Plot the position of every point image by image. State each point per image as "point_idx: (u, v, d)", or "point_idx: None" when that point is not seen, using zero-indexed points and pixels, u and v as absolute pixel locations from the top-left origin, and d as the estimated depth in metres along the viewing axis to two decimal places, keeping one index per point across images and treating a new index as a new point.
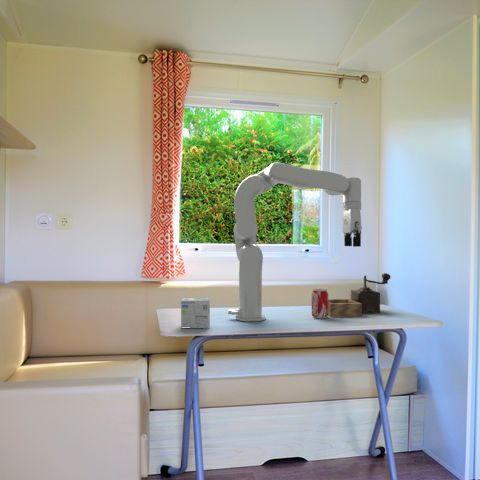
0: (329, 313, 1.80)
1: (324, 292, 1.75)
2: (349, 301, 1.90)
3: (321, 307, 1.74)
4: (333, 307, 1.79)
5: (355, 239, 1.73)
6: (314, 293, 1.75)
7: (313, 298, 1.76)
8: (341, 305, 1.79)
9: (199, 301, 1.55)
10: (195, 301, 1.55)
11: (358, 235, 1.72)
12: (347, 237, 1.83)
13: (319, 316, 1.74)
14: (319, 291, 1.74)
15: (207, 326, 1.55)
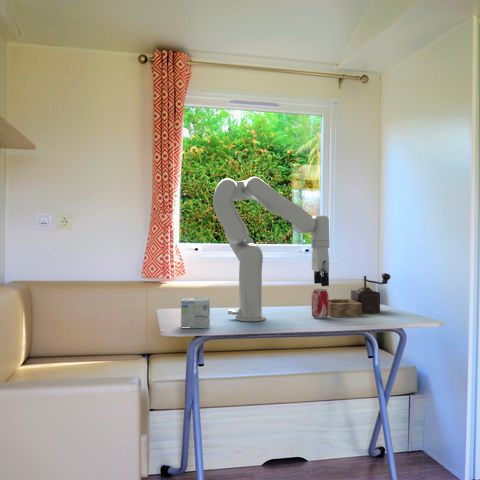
0: (329, 313, 1.80)
1: (324, 292, 1.75)
2: (349, 301, 1.90)
3: (321, 307, 1.74)
4: (333, 307, 1.79)
5: (323, 279, 1.72)
6: (314, 293, 1.75)
7: (313, 298, 1.76)
8: (341, 305, 1.79)
9: (199, 301, 1.55)
10: (195, 301, 1.55)
11: (326, 275, 1.71)
12: (317, 274, 1.82)
13: (319, 316, 1.74)
14: (319, 291, 1.74)
15: (207, 326, 1.55)
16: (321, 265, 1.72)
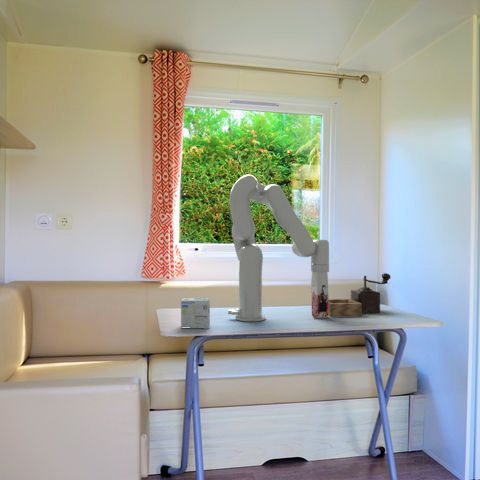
0: (329, 313, 1.80)
1: None
2: (349, 301, 1.90)
3: None
4: (333, 307, 1.79)
5: (321, 304, 1.73)
6: (314, 293, 1.75)
7: (313, 298, 1.76)
8: (341, 305, 1.79)
9: (199, 301, 1.55)
10: (195, 301, 1.55)
11: (324, 301, 1.72)
12: None
13: (319, 316, 1.74)
14: None
15: (207, 326, 1.55)
16: (320, 289, 1.72)
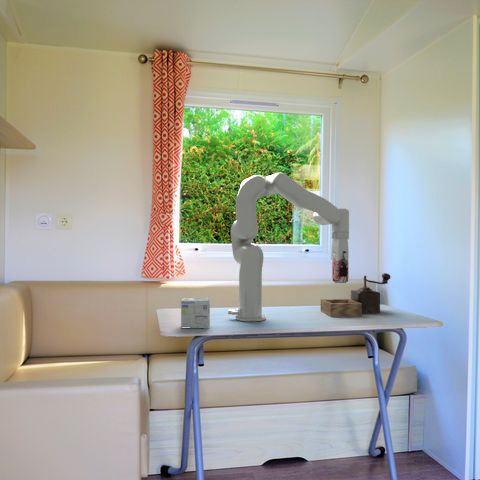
0: (329, 313, 1.80)
1: None
2: (349, 301, 1.90)
3: None
4: (333, 307, 1.79)
5: (342, 270, 1.82)
6: (335, 259, 1.85)
7: (334, 264, 1.85)
8: (341, 305, 1.79)
9: (199, 301, 1.55)
10: (195, 301, 1.55)
11: (344, 266, 1.81)
12: None
13: (340, 281, 1.83)
14: None
15: (207, 326, 1.55)
16: (341, 255, 1.81)
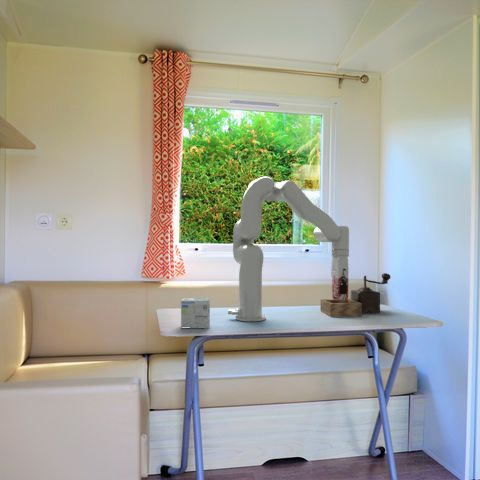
0: (329, 313, 1.80)
1: None
2: (349, 301, 1.90)
3: None
4: (333, 307, 1.79)
5: (341, 287, 1.82)
6: None
7: (334, 281, 1.85)
8: (341, 305, 1.79)
9: (199, 301, 1.55)
10: (195, 301, 1.55)
11: (344, 284, 1.81)
12: None
13: (340, 298, 1.83)
14: None
15: (207, 326, 1.55)
16: (341, 273, 1.81)
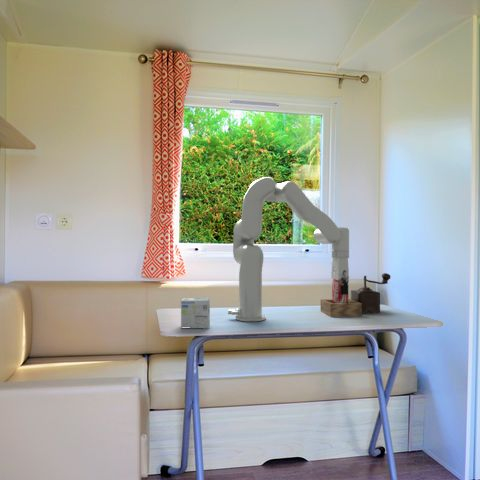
0: (329, 313, 1.80)
1: None
2: (349, 301, 1.90)
3: (342, 295, 1.83)
4: (333, 307, 1.79)
5: (343, 287, 1.81)
6: (335, 281, 1.84)
7: (334, 286, 1.85)
8: (341, 305, 1.79)
9: (199, 301, 1.55)
10: (195, 301, 1.55)
11: (345, 284, 1.80)
12: None
13: None
14: None
15: (207, 326, 1.55)
16: (341, 274, 1.81)
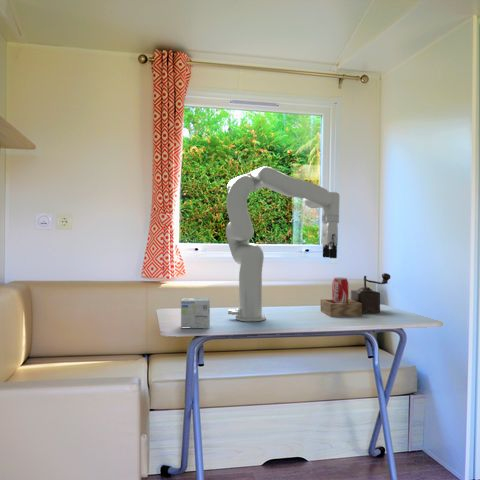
0: (329, 313, 1.80)
1: (344, 280, 1.84)
2: (349, 301, 1.90)
3: (342, 295, 1.83)
4: (333, 307, 1.79)
5: (331, 251, 1.81)
6: (335, 281, 1.84)
7: (334, 286, 1.85)
8: (341, 305, 1.79)
9: (199, 301, 1.55)
10: (195, 301, 1.55)
11: (334, 247, 1.80)
12: (325, 249, 1.91)
13: None
14: (340, 279, 1.84)
15: (207, 326, 1.55)
16: (330, 238, 1.82)
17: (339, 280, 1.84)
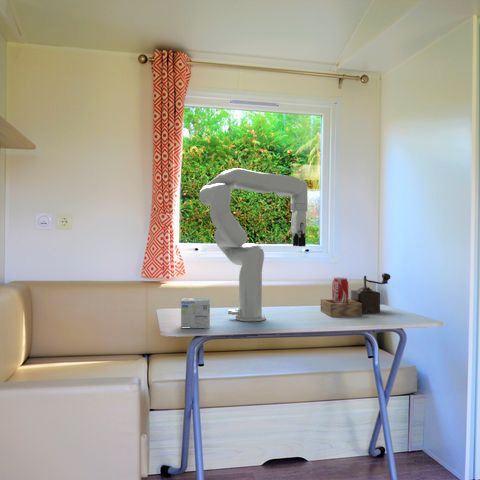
0: (329, 313, 1.80)
1: (344, 280, 1.84)
2: (349, 301, 1.90)
3: (342, 295, 1.83)
4: (333, 307, 1.79)
5: (300, 239, 1.83)
6: (335, 281, 1.85)
7: (334, 286, 1.85)
8: (341, 305, 1.79)
9: (199, 301, 1.55)
10: (195, 301, 1.55)
11: (303, 235, 1.82)
12: (295, 237, 1.93)
13: None
14: (340, 279, 1.84)
15: (207, 326, 1.55)
16: (299, 226, 1.83)
17: (339, 280, 1.84)
